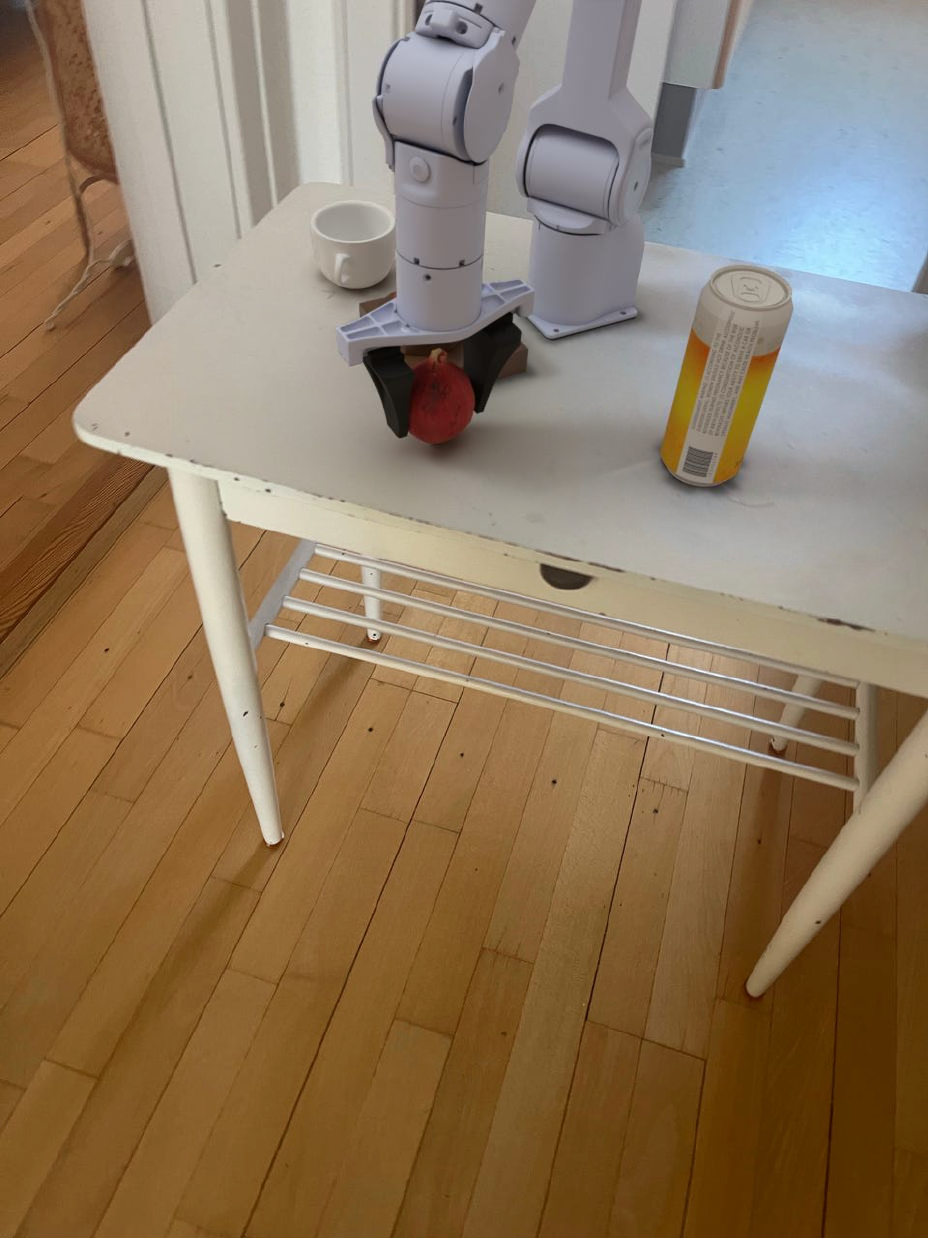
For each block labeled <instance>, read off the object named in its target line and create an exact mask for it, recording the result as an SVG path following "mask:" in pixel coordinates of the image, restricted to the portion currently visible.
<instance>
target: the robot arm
mask: <svg viewBox="0 0 928 1238" xmlns="http://www.w3.org/2000/svg"><path fill="white" fill-rule="evenodd" d="M537 1H538V0H425V2H424V4H423V7H422V10H421V12H420V15H419V16H418V20H417V23H416V24H415V28H414V30H413V31H411V32H409V33H407V34H405V35H404V37H401V38H398V39H396V40H395V41H393V42H392V43H391V45H390V46H388V48H387V50H386V51H385V53H384V56H383V58H382V60H381V63H380V65H379V68H378V72H377V77H376V83H375V84H376V85H375V95H374V96H373V97H372V98H371V106H372V113H373V114H372V115H373V119H374V123H375V127H376V128H377V130H378V133H380V135H381V136H382V139H383V142H384V148H385V164H386V165H387V166H388V169H389V170H390V171H391V172H392V173H393V174H394V196H395V197H394V198H395V199H394V200H395V202H394V203H395V204H394V205H395V207H394V209H395V220H396V252H395V263H396V264H395V269H396V270H395V272H396V274H395V275H396V277H395V278H396V281H395V282H396V283H395V284H396V290H397V297H396V298H394V299H393V300H391V301H389V302H387V303H386V304H384V305H382V306H380V307H379V308H377V309H375V310H373V311H372V312H370V313H368V314H366V315H364V316H363V317H361V318H360V317H359V318H357V319H355V320H353V321H350V322H347V323H345V324H341V325H339V326H336V327H335V336H336V349H337V351H336V352H337V353H338V354H339V356H340V357H341V359H342V360H343V361H344V362H345V363H346V364H347V366H348V367H354V366H357V365H358V366H359V365H361V364H363V366H364V367H365V369H366V371H367V373H368V374H369V376H370V378H371V380H372V382H373V385H374V387H375V390H376V391H377V394H378V397H379V399H380V403H381V405H382V409H383V412H384V417H385V421H386V425H387V426H388V428H389V429H390V430H391V431H392V433H393V434H394V435H395V436H396V438H397V439H403V438H406V437H408V434H409V431H408V430H409V399H410V393H411V388H412V384H413V381H414V378H415V375H416V373H415V372H414V371H413V370H412V368H411V367H410V366H409V365H408V364H407V363H406V362H405V355H404V353H402V352H401V347H400V346H403V345H419V344H435V343H449V342H455V341H459V340H462V342H463V356H464V362H463V371H464V372H465V373H466V374H467V376H468V377H469V379H470V382H471V385H472V388H473V391H474V395H475V406H474V411H473V413H475V414H477V415H478V414H481V413H484V411H485V409H486V406H487V404H488V401H489V398H490V395H491V393H492V391H493V388H494V386H495V383H496V381H497V380H498V379H497V377H498V375H499V373H500V372H501V370H502V368H503V367H504V365H505V364H506V362H507V361H508V359H509V358H510V357H511V355H512V354H513V353H514V352H515V351H516V350H517V349H518V347H519V346H520V344H521V342H522V337H523V336H522V335H523V332H522V330H521V328H520V327H518V325H517V324H516V323H514V315H516V316H517V317H519V318H527V319H528V320H529V321H530V322H531V323H532V324H533V325H534V326H535V327H536V328H537V330H539V331H540V332H541V333H542V334H543V335H544V336H545V337H546V338H547V339H548V340H554V339H558V338H561V337H566V336H569V335H572V334H577V333H580V332H584V331H587V330H592V329H596V328H599V327H602V326H606V325H610V324H614V323H617V322H621V321H625V320H629V319H633V318H636V317H637V316H638V312H639V311H638V310H637V308H635V306H634V304H635V297H636V292H637V288H638V283H639V277H640V272H641V267H642V262H643V257H644V251H645V241H646V240H645V230H644V225H643V221H642V218H641V217H640V215H639V212H638V210H639V208H640V206H641V205H642V202H643V200H644V197H645V195H646V192H647V189H648V185H649V181H650V177H651V172H652V171H651V170H652V146H653V145H652V144H653V138H654V125H655V123H654V121H653V119H652V117H651V116H650V115H649V113H648V112H647V111H646V110H645V108H643V106H642V105H641V104H640V103H639V102H638V100H637V99H636V98H635V97H634V95H633V94H632V93H631V92H630V90H629V88H628V87H627V83H628V78H629V73H630V68H631V60H632V57H633V51H634V45H635V39H636V35H637V30H638V25H639V24H638V23H639V18H640V14H641V8H642V2H643V0H572V5H571V13H570V20H569V28H568V35H567V41H566V49H565V55H564V64H563V71H562V76H561V77H562V78H561V83H559V84H557V85H555V86H554V87H551V89H549V90H547V91H546V92H544V93H542V94H541V95H540V96H539V97H538V98H537V99H536V100H535V101H534V102H533V103H532V104H531V106H530V107H529V109H528V113H527V117H526V123H525V129H524V132H523V136H522V138H521V140H520V143H519V145H518V148H517V149H518V150H517V154H516V158H515V165H514V178H515V183H516V187H517V189H518V192H519V193H520V195H521V196H522V197H523V198H525V199H527V201H526V211H527V212H529V213H531V214H533V216H532V217H533V219H532V230H531V237H530V247H529V257H528V268H527V276H526V280H524V279H523V278H522V277H519V278H518V277H517V278H513V279H508V280H501V281H500V280H499V281H483V273H484V257H485V242H486V241H485V239H486V226H487V225H486V222H487V209H488V208H487V207H488V206H487V205H488V188H489V174H490V157H491V156H492V155H493V154H494V153H495V151H496V150H497V148H498V146H499V144H500V142H501V140H502V138H503V136H504V134H505V132H506V130H507V128H508V125H509V122H510V117H511V113H512V108H513V101H514V95H515V93H514V92H515V85H516V81H517V78H518V75H519V73H520V70H519V69H520V65H521V60H520V58H519V55H518V54H517V50H518V49H519V46H520V43H521V40H522V38H523V35H524V33H525V30H526V28H527V27H528V23H529V20H530V18H531V15H532V13H533V11H534V8H535V6H536V4H537ZM496 379H497V380H496Z"/></svg>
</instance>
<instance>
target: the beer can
mask: <svg viewBox="0 0 928 1238" xmlns="http://www.w3.org/2000/svg"><path fill="white" fill-rule="evenodd" d="M792 296H793V288H792V285H791V284H790V282H788V280H787V279H786V278H784V277H783V276H782V275H780V274H778V273H777V272H774V271H772V270H770V269H767V268H765V267H760V266H757V265H751V264H731V265H726V266H722V267H719V268H718V269H716V270H715V271H713V273H712V274H711V276H710V278H709V280H708V281H707V282H706V283H705V284H704V285H703V287H702V288H701V289H700V292H699V295H698V300H697V303H696V308H695V312H694V316H693V320H692V323H691V327H690V331H689V335H688V339H687V344H686V347H685V351H684V354H683V359H682V362H681V367H680V371H679V375H678V379H677V383H676V387H675V391H674V395H673V399H672V403H671V407H670V411H669V416H668V419H667V422H666V427H665V431H664V435H663V439H662V442H661V447H660V457H661V459H662V461H663V463H664V465H665V467H666V468H667V470H668V471H669V473H670V474H671V475H672V476H673V477H675V478H676V479H677V480H679V481H681V482H682V483H685V484H687V485H689V486H695V487H703V488H704V487H705V488H707V487H708V488H709V487H715V486H718V485H720V484H723V483H725V482H726V481H728V480H730V479H732V478H733V477H735V476H736V475H737V474H738V473H739V471H740V469H741V467H742V463H743V460H744V457H745V455H746V452H747V449H748V446H749V444H750V440H751V437H752V434H753V431H754V429H755V426H756V423H757V419H758V416H759V414H760V411H761V407H762V405H763V402H764V399H765V396H766V392H767V390H768V388H769V384H770V381H771V378H772V375H773V372H774V369H775V366H776V363H777V361H778V357H779V355H780V351H781V349H782V345H783V342H784V340H785V337H786V333H787V330H788V328H789V325H790V321H791V319H792V316H793V312H794V304H793V303H794V302H793V297H792Z"/></svg>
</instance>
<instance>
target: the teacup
mask: <svg viewBox="0 0 928 1238" xmlns="http://www.w3.org/2000/svg"><path fill="white" fill-rule="evenodd" d="M309 233H310V240H311V246H312V250H313V257H314V260H315V263H316V265H317V267H318V269H319V270H320V272H321V273H322V275H323V276H324V277H325V278H326V279H327V280H329V281H330V282H332V283H333V284H335V285H336V286H338V287H340V288H341V287H342V288H345V289H352V290H361V289H362V290H363V289H367V288H369V287H373V286H374V285H377V284H378V283H380V282H381V281H383V280H384V279H385V278H386V277H387V276H388V275H389V273H390V272H391V270H392V267H393V264H394V261H395V259H396V216H395V215H394V213H393V212H392V211H391V210H390V209H388V208H387V207H385V206H384V205H382V204H379V203H377V202H373V201H369V200H362V199H346V200H345V199H344V200H339V201H338V200H337V201H335V202H331V203H328V204H326V205H323V206H322V207H319V208H318V209H317V210H316V211H315V212H314V213H313V214H312V216H311V219H310V222H309Z"/></svg>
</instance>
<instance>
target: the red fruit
mask: <svg viewBox="0 0 928 1238" xmlns="http://www.w3.org/2000/svg"><path fill="white" fill-rule="evenodd" d="M446 357H447V353H446V352H445V351H444V350H442V349H440V348H438V349H436V350H433V351H432V352H431V355H430V357H429V358H428V359H427V360H424V361H421V362H419V363H418V364H416V365H415V366H414V367H412V370H413V371H414V372H415V373H416V375H415V378H414V381H413V384H412V388H411V393H410V399H409V430H408V433H409V434H410V435H411V436H413V437H414V438H416V439H417V440H420V441H421V442H424V443H428V444H435V445H436V444H443V443H447V442H448V441H450V440H452V439H454V438H456V437H457V436H460V434H461V433H462V432H463V431H464V430H465V429H466V428H467V427H468V425H469V424H470V423H471V421H472V419H473V414H474V406H475V395H474V391H473V388H472V385H471V382H470V379H469V377H468V376H467V374H466V373H465V372H464V371H463V370H462V369H461V368H460V367H459V366H457V365H456V364H454V363H453V362H451V361H449V360H447V359H446Z"/></svg>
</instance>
